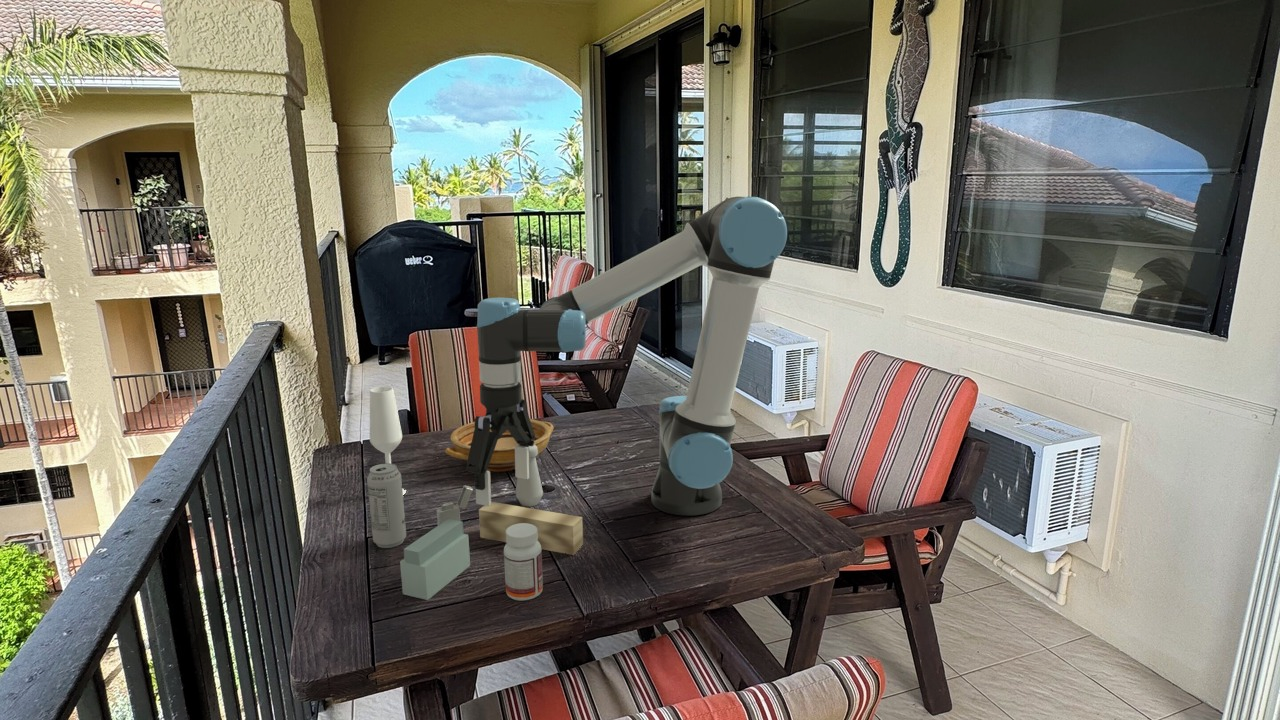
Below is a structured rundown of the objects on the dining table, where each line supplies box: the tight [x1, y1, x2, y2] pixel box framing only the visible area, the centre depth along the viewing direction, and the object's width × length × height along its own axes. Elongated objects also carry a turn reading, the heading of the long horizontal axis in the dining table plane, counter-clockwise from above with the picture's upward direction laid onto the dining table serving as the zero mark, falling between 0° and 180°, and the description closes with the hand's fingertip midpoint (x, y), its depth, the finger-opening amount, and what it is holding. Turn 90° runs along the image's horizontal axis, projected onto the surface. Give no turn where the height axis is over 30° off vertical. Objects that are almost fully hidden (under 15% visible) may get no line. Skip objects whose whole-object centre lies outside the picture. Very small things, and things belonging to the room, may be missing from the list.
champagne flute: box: [369, 386, 407, 495], centre depth 157 cm, size 7×7×24 cm
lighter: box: [436, 484, 473, 526], centre depth 143 cm, size 7×2×8 cm, turn 125°
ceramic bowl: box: [444, 418, 554, 472], centre depth 177 cm, size 30×24×8 cm
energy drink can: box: [366, 462, 407, 549], centre depth 136 cm, size 6×6×15 cm
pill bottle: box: [503, 523, 544, 601], centre depth 119 cm, size 6×6×11 cm
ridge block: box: [399, 519, 471, 601], centre depth 124 cm, size 5×12×8 cm, turn 158°
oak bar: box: [478, 501, 584, 556], centre depth 137 cm, size 20×4×6 cm, turn 69°
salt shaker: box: [515, 445, 544, 508], centre depth 153 cm, size 6×6×13 cm
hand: (503, 490), depth 137 cm, fingers open, 13 cm apart
